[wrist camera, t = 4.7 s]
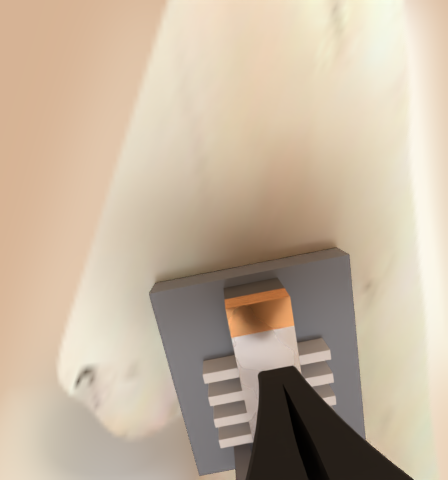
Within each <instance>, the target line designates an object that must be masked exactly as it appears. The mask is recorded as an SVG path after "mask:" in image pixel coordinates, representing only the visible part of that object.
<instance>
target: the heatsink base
mask: <svg viewBox="0 0 448 480" xmlns="http://www.w3.org/2000/svg"><path fill="white" fill-rule="evenodd" d="M281 288H285V290H286V291H287V293H288V294H289V296H290V299H291V306H292V313H293V319H294V326H295V333H296V340H297V346H298V353H299V360H300V367H301V373H302V376H303V377H304V378H305V380H306V381H307V382H308V383H309V384H310V385H311V387H312V388H313V389H314V390H315V391H316V392H317V393H318V394H319V396H320V397H321V398H322V399H323V400H324V401H325V402H326V403H327V404H328V405H329V406H330V407H331V408H332V409H333V410H334V411H335V412H336V413H337V414H338V415H339V416H340V417H341V418H342V419H343V420H344V421H345V422H346V423H347V424H348V425H349V426H350V427H351V428H353V429H354V430H355V431H356V432H357V433H358V434H359V435H360V436H361V437H362V438H363V439H365V427H364V416H363V405H362V393H361V382H360V370H359V359H358V348H357V336H356V325H355V314H354V302H353V291H352V280H351V268H350V257H349V254H347V253H346V252H344V251H342V250H340V249H338V248H332V249H327V250H322V251H317V252H312V253H307V254H302V255H297V256H292V257H286V258H281V259H276V260H271V261H266V262H261V263H256V264H251V265H246V266H241V267H235V268H230V269H225V270H220V271H215V272H210V273H205V274H200V275H195V276H190V277H184V278H179V279H174V280H169V281H164V282H159V283H155V284H154V286H153V288H152V289H151V291H150V293H149V296H150V299H151V303H152V306H153V310H154V314H155V317H156V321H157V325H158V328H159V332H160V335H161V339H162V343H163V346H164V350H165V353H166V357H167V361H168V364H169V368H170V371H171V375H172V379H173V382H174V386H175V389H176V393H177V397H178V400H179V404H180V408H181V411H182V415H183V418H184V422H185V425H186V429H187V433H188V436H189V440H190V444H191V447H192V451H193V454H194V458H195V462H196V465H197V469H198V472H199V476H202V475H207V474H212V473H217V472H223V471H228V470H233V469H235V470H236V480H245V479H246V475H247V471H248V467H249V462H250V457H251V452H252V447H253V439H252V434H251V429H250V425H249V420H248V415H247V410H246V405H245V401H244V396H243V391H242V386H241V382H240V377H239V372H238V367H237V362H236V358H235V353H234V348H233V343H232V338H231V334H230V329H229V324H228V319H227V314H226V310H225V299H230V298H235V297H240V296H245V295H250V294H255V293H260V292H266V291H271V290H276V289H281ZM365 440H366V439H365Z"/></svg>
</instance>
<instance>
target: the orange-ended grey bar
mask: <svg viewBox="0 0 448 480" xmlns="http://www.w3.org/2000/svg"><path fill="white" fill-rule="evenodd" d="M225 310H226V314H227V319H228V324H229V329H230V334H231V338H232V343H233V348H234V353H235V358H236V362H237V367H238V372H239V377H240V382H241V386H242V391H243V396H244V401H245V405H246V410H247V415H248V420H249V425H250V429H251V434H252V439H253V441H254V435H255V429H256V422H257V412H258V401H259V381H258V374H259V372H261V371H266V370H271V369H276V368H282V367H287V366H292V365H293V366H295V367H296V368H297V369H298V371H299V372H300V373H301V367H300V360H299V353H298V346H297V340H296V333H295V326H294V319H293V313H292V306H291V299H290V296H289V294H288V293H287V291H286V290H285V288H281V289H276V290H271V291H266V292H260V293H255V294H250V295H245V296H240V297H235V298H230V299H225ZM301 375H302V373H301Z"/></svg>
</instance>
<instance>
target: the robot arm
mask: <svg viewBox="0 0 448 480" xmlns="http://www.w3.org/2000/svg"><path fill="white" fill-rule="evenodd" d="M258 381H259V401H258V412H257V422H256V429H255V435H254V441H253V447H252V452H251V457H250V462H249V467H248V471H247V475H246V479H245V480H414V479H412V478H411V477H410V476H409V475H407V474H406V473H405V472H403V471H402V470H401V469H400V468H398V467H397V466H396V465H394V464H393V463H392V462H391V461H389V460H388V459H387V458H386V457H385V456H383V455H382V454H381V453H380V452H379V451H377V450H376V449H375V448H374V447H373V446H371V445H370V444H369V443H368V442H367V441H366V440H365V439H363V438H362V437H361V436H360V435H359V434H358V433H357V432H356V431H355V430H354V429H353V428H351V427H350V426H349V425H348V424H347V423H346V422H345V421H344V420H343V419H342V418H341V417H340V416H339V415H338V414H337V413H336V412H335V411H334V410H333V409H332V408H331V407H330V406H329V405H328V404H327V403H326V402H325V401H324V400H323V399H322V398H321V397H320V396H319V394H318V393H317V392H316V391H315V390H314V389H313V388H312V387H311V385H310V384H309V383H308V382H307V381H306V380H305V378H304V377H303V376H302V375H301V373H300V372H299V371H298V369H297V368H296V367H295V366H293V365H292V366H287V367H282V368H276V369H271V370H266V371H261V372H259V374H258Z"/></svg>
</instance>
